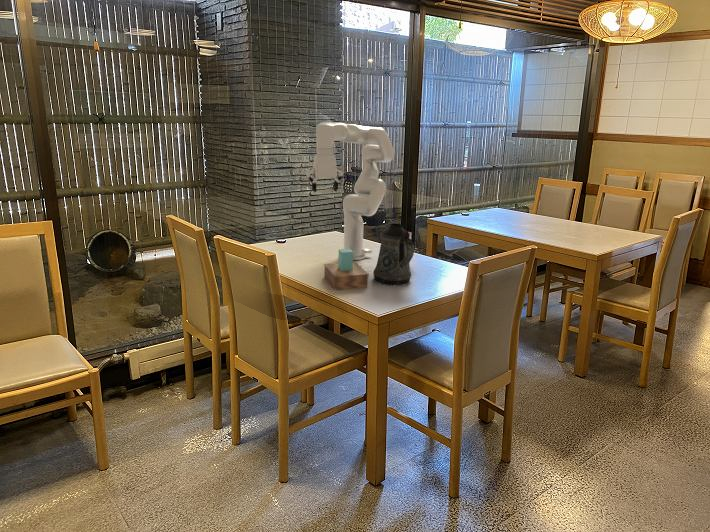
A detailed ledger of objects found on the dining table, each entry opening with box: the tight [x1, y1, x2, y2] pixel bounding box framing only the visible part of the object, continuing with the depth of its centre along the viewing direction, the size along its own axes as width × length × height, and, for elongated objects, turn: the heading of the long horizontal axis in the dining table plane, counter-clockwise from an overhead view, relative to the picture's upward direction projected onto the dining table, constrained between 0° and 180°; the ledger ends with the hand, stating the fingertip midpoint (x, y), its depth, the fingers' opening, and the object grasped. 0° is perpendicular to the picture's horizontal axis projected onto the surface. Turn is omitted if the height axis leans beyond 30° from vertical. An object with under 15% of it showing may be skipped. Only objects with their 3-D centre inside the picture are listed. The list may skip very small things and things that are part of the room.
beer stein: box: [372, 223, 415, 286], centre depth 230 cm, size 16×19×25 cm
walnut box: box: [323, 261, 370, 290], centre depth 228 cm, size 15×19×6 cm
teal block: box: [337, 248, 354, 271], centre depth 226 cm, size 5×5×8 cm
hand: (325, 191), depth 239 cm, fingers open, 9 cm apart
